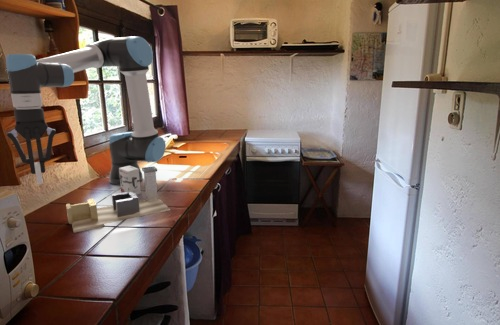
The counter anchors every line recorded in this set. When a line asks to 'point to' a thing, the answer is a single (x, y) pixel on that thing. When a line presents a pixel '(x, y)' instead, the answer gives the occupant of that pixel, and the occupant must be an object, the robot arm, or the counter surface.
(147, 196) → the grey long block
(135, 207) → the dark grey hollow housing
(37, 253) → the counter surface
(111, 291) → the counter surface
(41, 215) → the counter surface
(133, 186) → the ink box
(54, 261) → the counter surface
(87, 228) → the mounting board
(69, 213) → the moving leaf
